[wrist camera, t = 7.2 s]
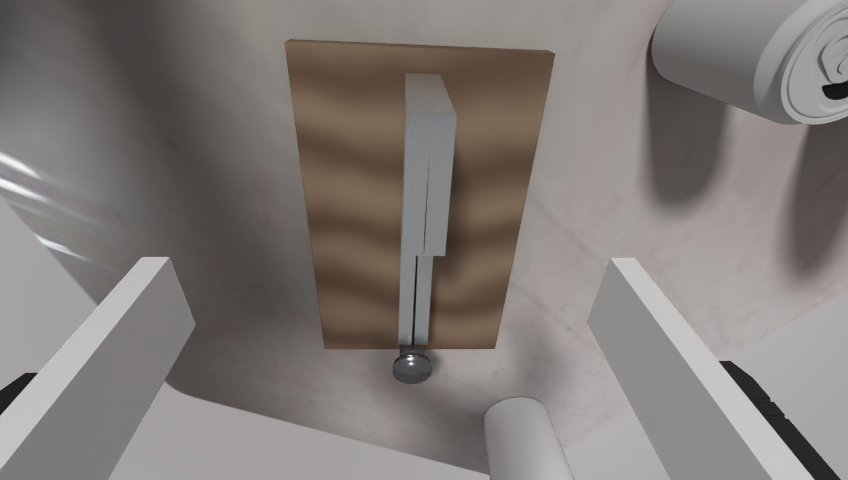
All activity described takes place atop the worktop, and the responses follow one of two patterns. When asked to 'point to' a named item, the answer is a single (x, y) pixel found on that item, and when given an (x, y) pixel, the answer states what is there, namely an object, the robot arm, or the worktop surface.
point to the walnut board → (382, 182)
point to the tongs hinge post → (412, 364)
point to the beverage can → (760, 55)
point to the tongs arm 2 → (434, 198)
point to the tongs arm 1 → (413, 194)
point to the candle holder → (523, 442)
